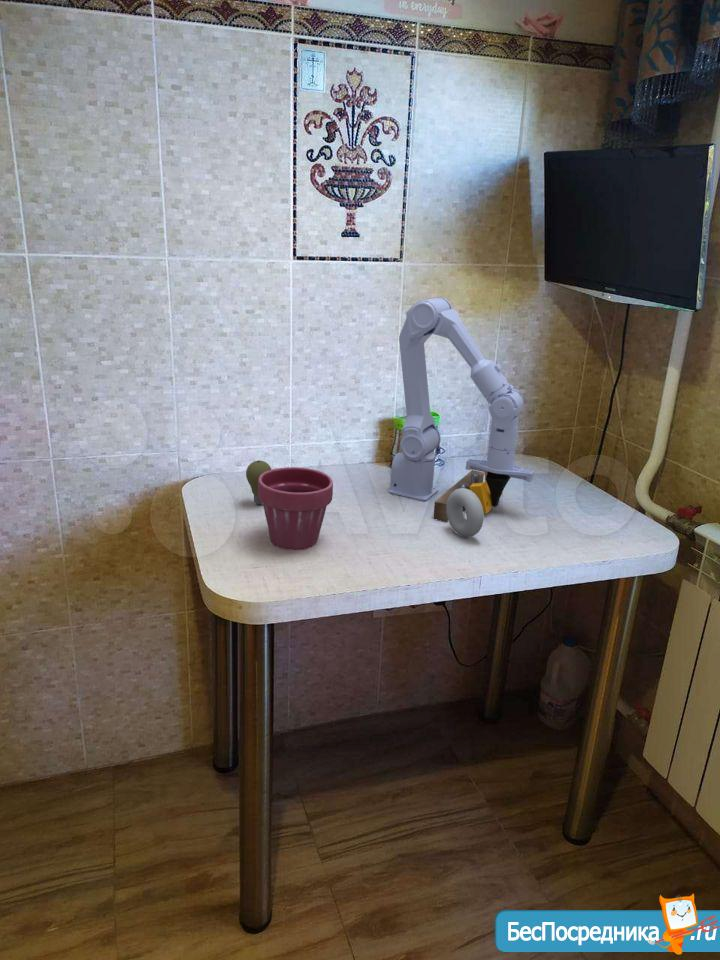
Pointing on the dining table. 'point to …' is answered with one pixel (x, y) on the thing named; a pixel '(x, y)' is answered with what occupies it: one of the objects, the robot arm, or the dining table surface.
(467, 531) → the donut
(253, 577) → the dining table surface
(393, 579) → the dining table surface
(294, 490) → the plant pot
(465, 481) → the bench fence
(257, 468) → the light bulb
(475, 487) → the pipe clamp
